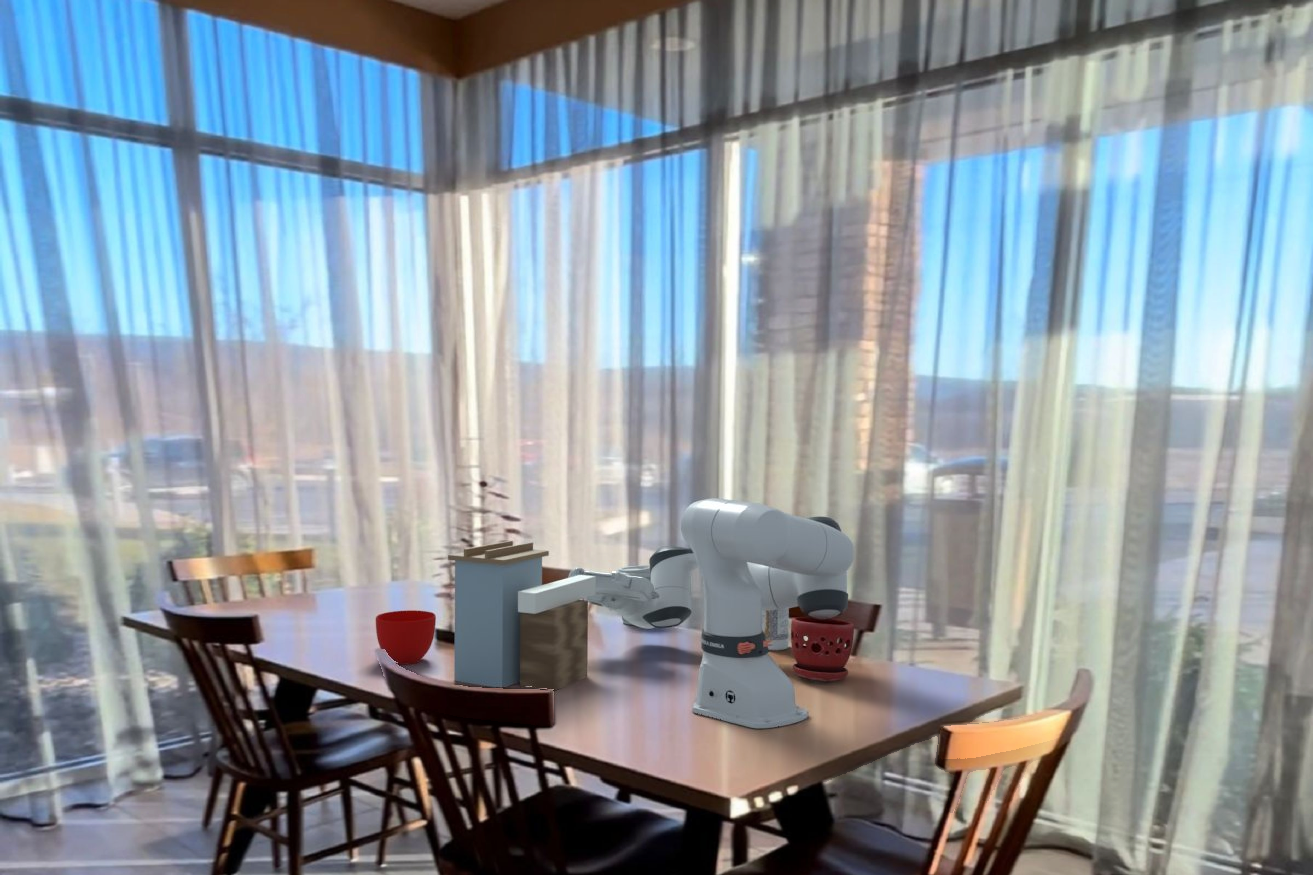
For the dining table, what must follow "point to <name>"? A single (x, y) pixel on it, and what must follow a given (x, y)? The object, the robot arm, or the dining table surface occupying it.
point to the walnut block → (554, 646)
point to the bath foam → (776, 628)
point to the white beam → (556, 594)
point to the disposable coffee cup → (638, 572)
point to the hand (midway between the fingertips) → (595, 573)
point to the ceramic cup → (406, 634)
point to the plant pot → (821, 647)
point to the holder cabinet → (491, 610)
